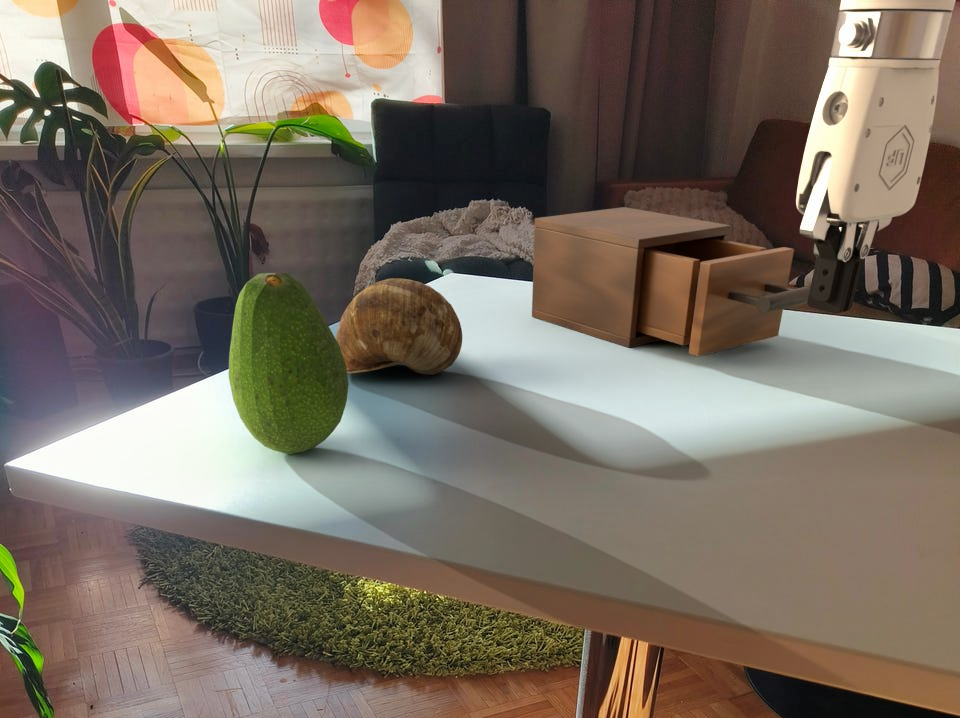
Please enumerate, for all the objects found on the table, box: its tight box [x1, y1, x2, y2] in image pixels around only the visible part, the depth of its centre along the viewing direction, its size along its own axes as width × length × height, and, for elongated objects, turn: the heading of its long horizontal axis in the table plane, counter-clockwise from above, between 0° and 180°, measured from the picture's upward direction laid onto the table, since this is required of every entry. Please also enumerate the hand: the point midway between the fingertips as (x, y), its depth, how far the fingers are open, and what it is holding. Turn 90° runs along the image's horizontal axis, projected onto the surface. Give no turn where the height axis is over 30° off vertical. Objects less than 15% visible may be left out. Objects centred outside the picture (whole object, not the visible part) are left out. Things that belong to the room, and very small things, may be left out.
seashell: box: [335, 277, 463, 376], centre depth 76 cm, size 11×9×8 cm
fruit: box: [228, 272, 349, 455], centre depth 60 cm, size 8×8×12 cm
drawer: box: [636, 237, 810, 357], centre depth 83 cm, size 18×11×8 cm, turn 37°
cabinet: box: [531, 206, 732, 348], centre depth 90 cm, size 15×13×10 cm
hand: (828, 308), depth 74 cm, fingers closed
